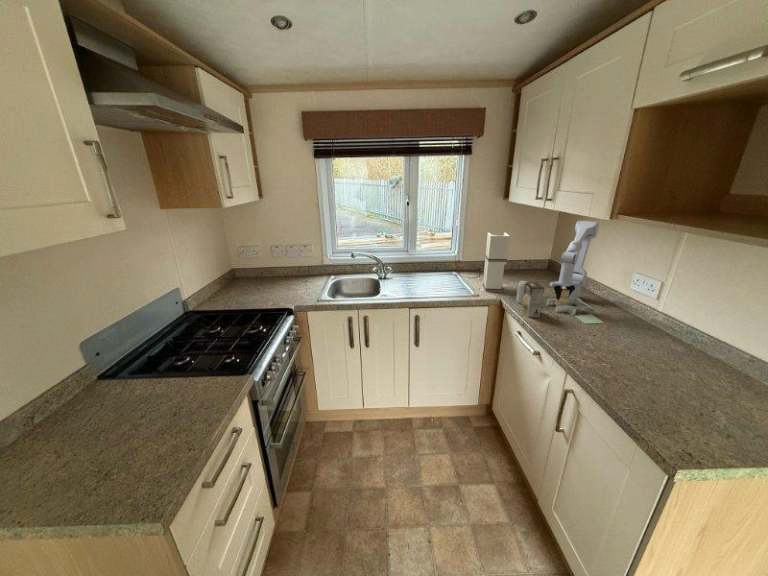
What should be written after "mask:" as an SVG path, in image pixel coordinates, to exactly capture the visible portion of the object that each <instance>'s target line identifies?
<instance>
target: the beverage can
mask: <svg viewBox="0 0 768 576" xmlns="http://www.w3.org/2000/svg"><path fill="white" fill-rule="evenodd" d="M525 282H528V281H527V280H521V281H519V283H518V284H517V291H516V299H515V301H516V302H517V303H518V304H522V303H523V296H524V289H525Z"/></svg>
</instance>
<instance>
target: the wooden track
mask: <svg viewBox="0 0 768 576" xmlns="http://www.w3.org/2000/svg"><path fill="white" fill-rule="evenodd" d="M581 300H582V299H581ZM581 300H579V299H578V298H568V302H567V305H556V304H555V301H556V297H555V298H554V297H553V298H547V299H546V305H547V306H555V313H568V314H570V316H574V315H576V311H577V309H576V308H575V307H573V306H576V307H577V308H579V309H581V310H582V311H584V312H585V313H586V314H587V315H593V316H594V313H595V312H594V311H595V308H594V307H592V306H591V305H589V304H588V303H586V302H584V301H581Z"/></svg>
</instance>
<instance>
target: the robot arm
mask: <svg viewBox="0 0 768 576" xmlns="http://www.w3.org/2000/svg"><path fill="white" fill-rule="evenodd" d="M599 227H600V223H599V222H598V221H587V220H577V222H576V223H575V227H574V231H575V237H574V240H573V241H571V242H570V243H569V245H568V247H567V249H566V250H565V251H564V252H563V253H562V255H561V257H560V266H561V268H560V271H559V272H560V273H559V278H558V280H557V281H551V282H549V287H551V288H553V289H554V292H555V298H556V299H558V300H559V299H560V294H561V292H562V290H563V289H562V288H566V289H568V290H570V292H569V297H568V298H578V299H579V300H581V301H582V299H581V298H580V293H581V288H582V286H584V285H585V283H586V281H587V275H588V272H587V270H585V268H584V265H585V260H586V257H587V253H588V249H589V247H590V244H591V241H592V239H595V238H596V237H597V234H598V231H599ZM582 302H583V301H582Z"/></svg>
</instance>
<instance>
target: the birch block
mask: <svg viewBox="0 0 768 576" xmlns="http://www.w3.org/2000/svg"><path fill="white" fill-rule="evenodd" d="M561 288H562V287H561ZM562 289H563V290H562V292H561V294H560V299H559V300H558V299H556V301H555V304H556V305H567V302H568V297H569V292H570V290H568V289H566V288H562ZM556 305H555V306H556Z"/></svg>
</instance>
